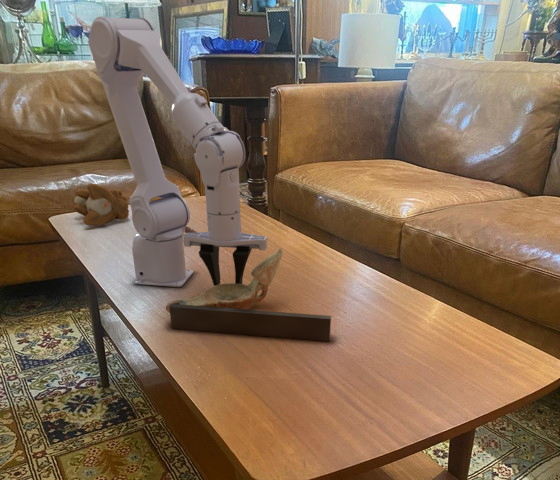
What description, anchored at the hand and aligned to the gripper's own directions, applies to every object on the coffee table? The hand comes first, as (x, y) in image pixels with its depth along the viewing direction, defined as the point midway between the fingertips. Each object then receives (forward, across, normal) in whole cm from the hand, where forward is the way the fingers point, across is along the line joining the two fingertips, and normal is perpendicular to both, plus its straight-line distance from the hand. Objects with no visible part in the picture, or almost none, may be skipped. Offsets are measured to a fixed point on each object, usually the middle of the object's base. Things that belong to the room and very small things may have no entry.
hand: (228, 285), depth 100 cm
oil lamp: (+3, -1, +6) cm, 6 cm away
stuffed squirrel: (-2, +40, -40) cm, 57 cm away
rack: (+2, -7, +13) cm, 15 cm away
